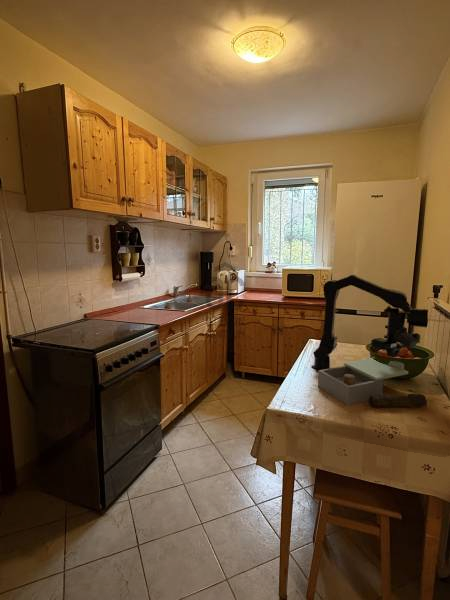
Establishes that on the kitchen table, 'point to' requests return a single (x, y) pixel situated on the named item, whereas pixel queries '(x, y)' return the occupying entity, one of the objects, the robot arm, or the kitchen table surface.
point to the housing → (348, 394)
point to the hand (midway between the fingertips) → (392, 362)
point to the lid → (377, 368)
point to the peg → (349, 379)
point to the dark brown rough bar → (398, 401)
